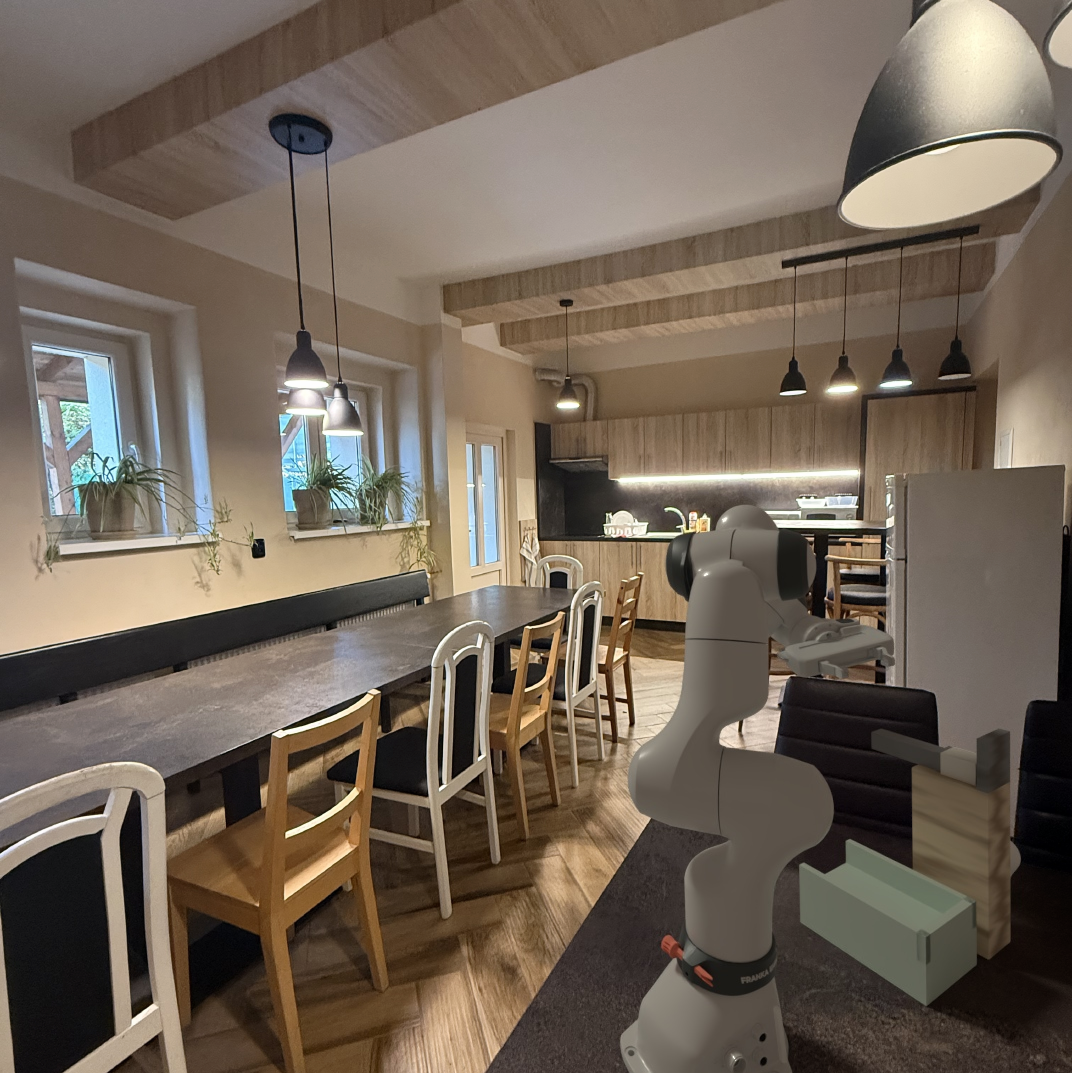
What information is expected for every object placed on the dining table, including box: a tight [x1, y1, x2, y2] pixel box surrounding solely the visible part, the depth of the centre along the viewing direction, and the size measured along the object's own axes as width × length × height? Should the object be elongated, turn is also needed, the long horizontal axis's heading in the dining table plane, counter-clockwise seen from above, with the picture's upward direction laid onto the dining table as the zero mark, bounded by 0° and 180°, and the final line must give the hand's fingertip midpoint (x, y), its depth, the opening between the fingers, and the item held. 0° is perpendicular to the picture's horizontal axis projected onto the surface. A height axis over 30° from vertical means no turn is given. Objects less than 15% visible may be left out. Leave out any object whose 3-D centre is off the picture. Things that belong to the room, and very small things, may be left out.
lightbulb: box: [1010, 840, 1022, 880], centre depth 104 cm, size 6×6×11 cm
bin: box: [798, 838, 978, 1007], centre depth 95 cm, size 14×20×10 cm
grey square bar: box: [870, 728, 977, 786], centre depth 100 cm, size 4×17×4 cm, turn 30°
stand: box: [911, 728, 1011, 961], centre depth 96 cm, size 7×11×34 cm, turn 30°
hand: (868, 668), depth 107 cm, fingers open, 8 cm apart
